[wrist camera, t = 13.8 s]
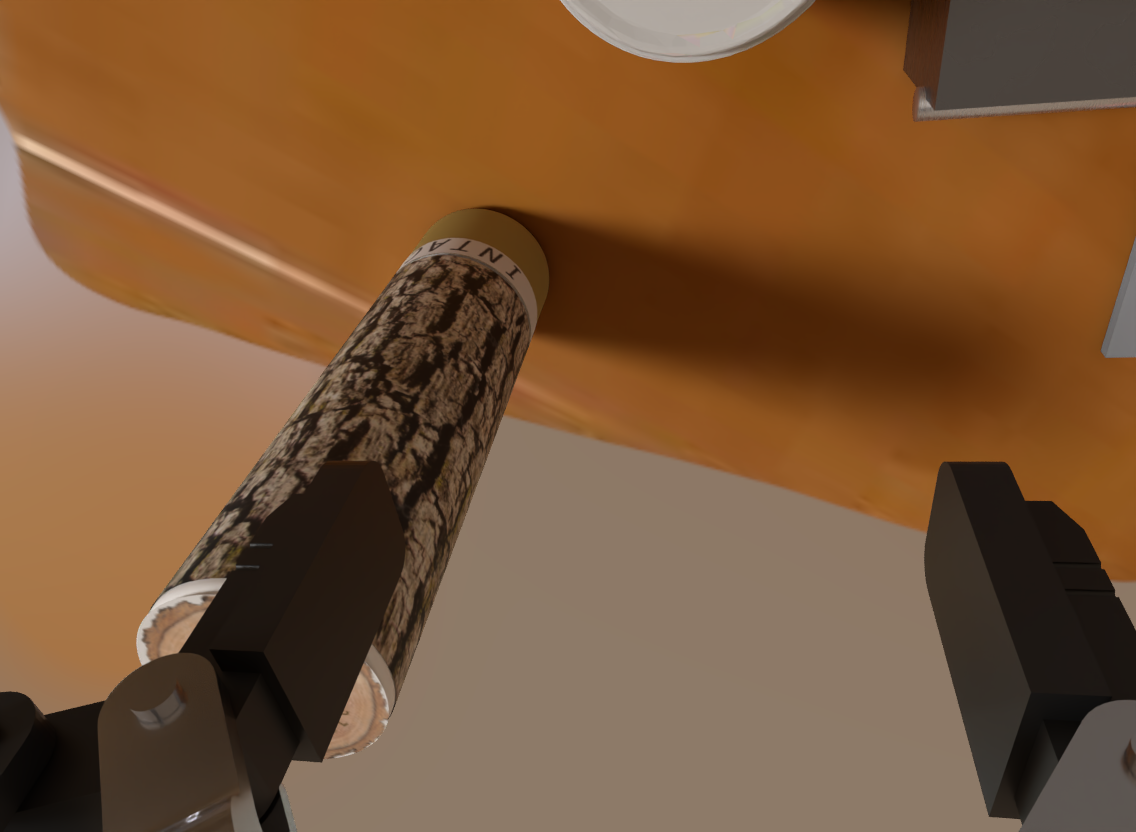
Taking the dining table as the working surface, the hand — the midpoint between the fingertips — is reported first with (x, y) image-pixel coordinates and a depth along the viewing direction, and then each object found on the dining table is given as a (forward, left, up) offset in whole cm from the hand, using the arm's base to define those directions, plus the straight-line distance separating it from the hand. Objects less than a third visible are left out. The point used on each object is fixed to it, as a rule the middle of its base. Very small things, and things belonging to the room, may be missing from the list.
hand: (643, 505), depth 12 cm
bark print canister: (+9, -11, -28) cm, 31 cm away
